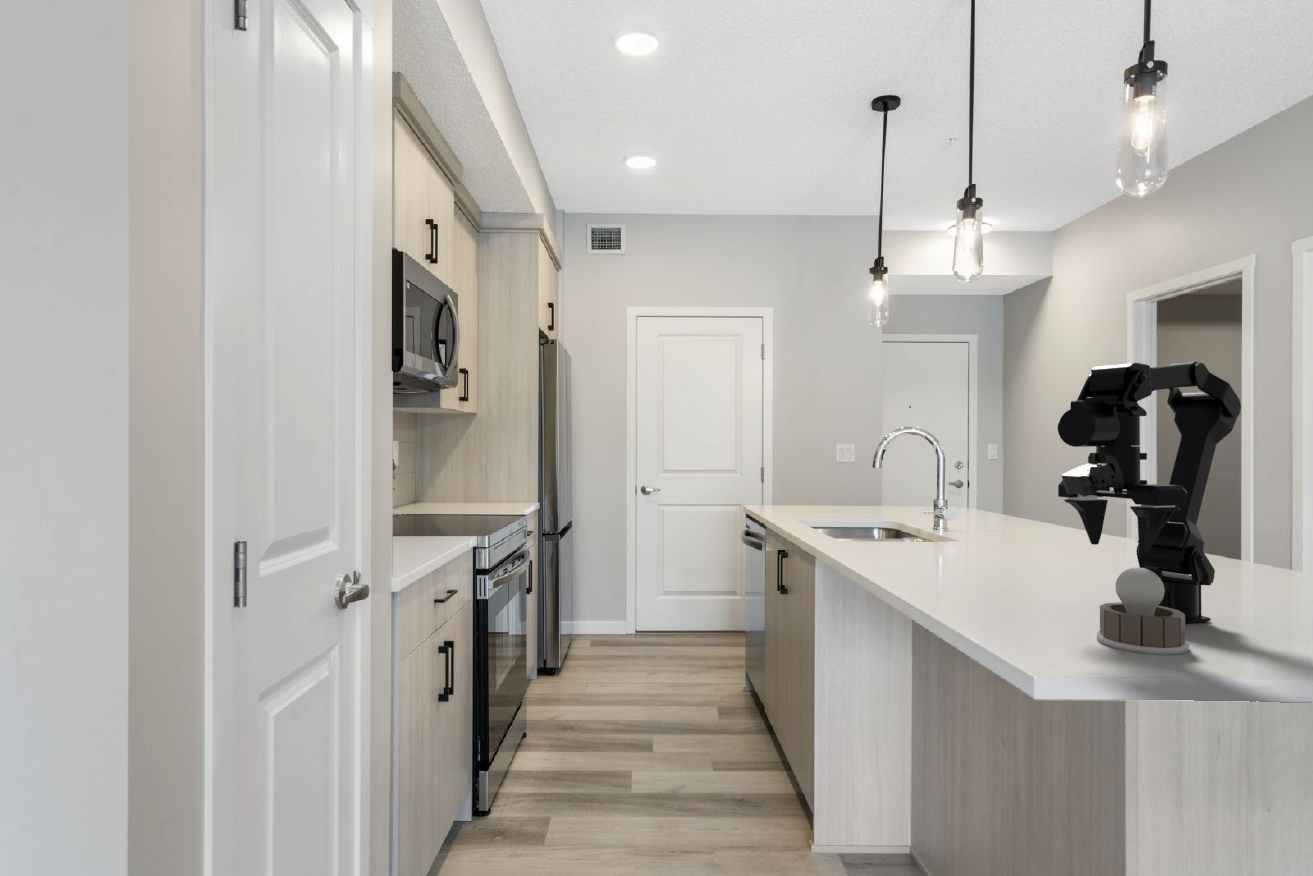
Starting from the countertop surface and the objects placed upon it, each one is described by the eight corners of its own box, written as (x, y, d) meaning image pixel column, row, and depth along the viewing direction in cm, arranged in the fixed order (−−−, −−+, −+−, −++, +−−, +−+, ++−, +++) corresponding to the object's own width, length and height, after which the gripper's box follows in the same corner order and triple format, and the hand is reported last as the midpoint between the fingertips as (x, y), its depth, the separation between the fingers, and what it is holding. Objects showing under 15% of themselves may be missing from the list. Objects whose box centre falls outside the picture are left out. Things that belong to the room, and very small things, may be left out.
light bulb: (1173, 644, 103) (1172, 571, 103) (1126, 642, 104) (1125, 570, 104) (1153, 633, 109) (1153, 564, 109) (1109, 631, 110) (1108, 563, 110)
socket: (1141, 631, 113) (1140, 600, 113) (1209, 651, 102) (1208, 616, 102) (1079, 636, 110) (1078, 603, 111) (1142, 657, 100) (1141, 621, 100)
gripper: (1029, 446, 121) (1029, 542, 121) (1123, 447, 103) (1124, 560, 103) (1087, 445, 124) (1088, 539, 124) (1190, 446, 105) (1191, 557, 105)
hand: (1118, 548), depth 114 cm, fingers open, 9 cm apart
